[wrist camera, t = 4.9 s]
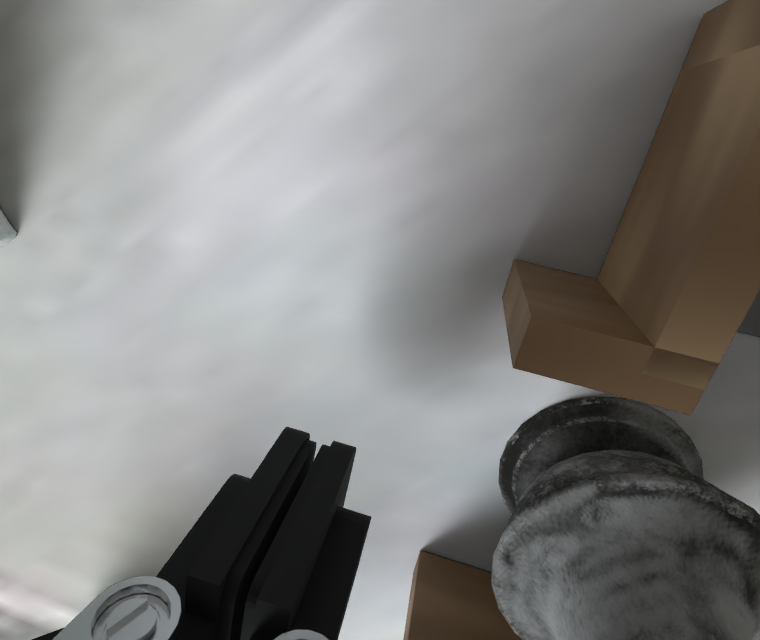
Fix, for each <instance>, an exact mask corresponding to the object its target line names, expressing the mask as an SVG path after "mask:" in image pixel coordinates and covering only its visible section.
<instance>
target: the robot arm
mask: <svg viewBox="0 0 760 640" xmlns="http://www.w3.org/2000/svg"><path fill="white" fill-rule="evenodd" d="M309 439H310V434H309V433H306V432H303V431H299V430H296V429H293V428H289V427H286V428H285V429H284V430H283V431H282V433H281V434H280V436H279V437H278V439H277V440H276V442H275V443H274V445H273V446H272V448H271V449H270V451H269V452H268V454H267V455H266V457H265V458H264V460H263V461H262V463H261V464H260V466H259V467H258V469H257V470H256V472H255V473H254V475H253V476H252V478H251V479H250V478H247V477H243V476H240V475H237V474H233V475H232V476H231V477H230V478H229V479H228V480H227V481H226V483H225V484H224V485H223V487H222V488H221V489H220V491H219V492H218V493H217V495H216V496H215V497H214V499H213V500H212V502H211V503H210V504H209V506H208V507H207V508H206V510H205V511H204V512H203V514H202V515H201V517H200V518H199V519H198V521H197V522H196V523H195V525H194V526H193V527H192V529H191V530H190V531H189V533H188V534H187V536H186V537H185V538H184V540H183V541H182V542H181V544H180V545H179V546H178V548H177V549H176V550H175V552H174V553H173V555H172V556H171V557H170V559H169V560H168V561H167V563H166V564H165V565H164V567H163V568H162V570H161V571H160V572H159V574H158V575H157V576H156V577H154V576H138V577H133V578H129V579H125V580H123V581H120V582H118V583H116V584H114V585H112V586H110V587H109V588H107V589H106V590H105V591H104V592H102V593H101V594H100V595H98V596H97V597H96V598H95V599H94V600H93V601H92V602H91V603H90V604H89V605H88V606H87V607H86V608H85V609H84V610H83V611H81V612H80V613H79V614H78V615H77V616H76V617H75V618H74V619H73V620H72V621H71V622H70V623H69V624H68V625H67V626H66V627H65V628H62V629H59V630H57V631H54V632H51V633H48V634H46V635H43V636H40V637H38V638H35V639H32V640H338V636H339V633H340V629H341V625H342V622H343V618H344V615H345V611H346V608H347V604H348V601H349V597H350V593H351V590H352V586H353V583H354V579H355V576H356V572H357V568H358V565H359V561H360V557H361V554H362V550H363V546H364V543H365V539H366V535H367V531H368V528H369V524H370V520H371V517H370V516H367V515H364V514H361V513H358V512H355V511H351V510H348V509H345V508H343V505H344V501H345V497H346V492H347V488H348V484H349V479H350V475H351V470H352V466H353V462H354V457H355V453H356V447H353V446H349V445H346V444H343V443H339V442H336V441H333V442H332V444H331V446H327V445H322V446H321V448H320V450H319V452H318V454H317V456H316V458H315V460H314V455H315V450H316V442H313V441H310V440H309ZM313 460H314V462H313Z"/></svg>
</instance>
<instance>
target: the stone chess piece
mask: <svg viewBox="0 0 760 640" xmlns="http://www.w3.org/2000/svg"><path fill="white" fill-rule="evenodd" d="M499 485H500V489H501V493H502V497H503V500H504V503H505V504H506V506H507V508H508V509H509V511H510V512H511V514H512V516H511V518H510V520H509V523H508V525H507V527H506V528H505V529H504V531H503V533H502V536H501V538H500V540H499V542H498V545H497V547H496V549H495V551H494V554H493V563H492V578H491V584H492V588H493V591H494V594H495V598H496V601H497V605H498V608H499V610H500V611H501V613H502V614H503V616H504V617H505V619H506V620H507V622H508V623H509V625H510V626H511V628H512V629H513V631H514V632H515V633H516V634H517V635H518V636H519V637H521V638H522V639H523V640H760V515H759V514H758V513H757V512H756V511H755V510H754V509H753V508H751V507H750V506H748V505H746V504H744V503H743V502H741V501H739V500H737V499H736V498H734V497H732V496H730V495H729V494H727V493H725V492H724V491H722V490H720V489H719V488H717V487H715V486H714V485H712V484H710V483H708V482H707V481H705V480H704V479H703V470H702V461H701V458H700V456H699V454H698V452H697V450H696V448H695V446H694V444H693V442H692V440H691V439H690V437H689V436H688V435H687V434H686V433H685V432H684V431H683V430H682V429H681V428H680V427H679V426H678V425H677V424H676V423H675V422H674V421H673V420H672V419H671V418H669V417H667V416H665V415H664V414H662V413H660V412H658V411H657V410H655V409H653V408H651V407H650V406H647V405H643V404H640V403H636V402H633V401H630V400H626V399H623V398H608V397H588V398H582V399H575V400H569V401H565V402H562V403H560V404H557V405H555V406H552V407H549V408H547V409H544V410H542V411H540V412H539V413H538V414H536V415H535V416H533V417H532V418H530V419H529V420H528V421H526V422H525V423H523V424H522V425H521V426H520V427H519V429H518V430H517V431H516V432H515V433H514V435H513V436H512V437H511V438H510V439H509V441H508V442H507V445H506V447H505V450H504V452H503V454H502V457H501V459H500V468H499Z"/></svg>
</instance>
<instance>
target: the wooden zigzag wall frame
mask: <svg viewBox="0 0 760 640" xmlns="http://www.w3.org/2000/svg"><path fill="white" fill-rule="evenodd" d="M502 299H503V306H504V313H505V319H506V326H507V332H508V339H509V346H510V352H511V359H512V365H513V368H515V369H519V370H523V371H527V372H530V373H534V374H538V375H542V376H545V377H549V378H553V379H557V380H560V381H564V382H568V383H572V384H575V385H579V386H583V387H587V388H590V389H594V390H598V391H602V392H605V393H609V394H613V395H617V396H620V397H624V398H628V399H632V400H635V401H639V402H643V403H647V404H651V405H654V406H658V407H662V408H666V409H669V410H673V411H677V412H681V413H684V414H688V415H691V413H692V412H693V410H694V408H695V406H696V404H697V403H698V401H699V399H700V397H701V395H702V393H703V392H704V390H705V388H706V386H707V384H708V383H709V381H710V379H711V377H712V375H713V373H714V372H715V370H716V368H717V366H718V364H719V363H720V361H721V359H722V357H723V355H724V353H725V352H726V350H727V348H728V346H729V344H730V343H731V341H732V339H733V337H734V335H735V333H736V332H740V333H744V334H749V335H753V336H757V337H760V0H728V1H726V2H725V3H723V4H721V5H719V6H717V7H716V8H714V9H712V10H710V11H708V12H707V13H705V14H703V17H702V19H701V22H700V24H699V27H698V29H697V32H696V34H695V37H694V39H693V42H692V44H691V47H690V49H689V52H688V54H687V57H686V59H685V62H684V64H683V67H682V69H681V72H680V74H679V77H678V79H677V82H676V84H675V87H674V89H673V92H672V94H671V96H670V99H669V101H668V104H667V106H666V109H665V111H664V114H663V116H662V119H661V121H660V124H659V126H658V129H657V131H656V134H655V136H654V139H653V141H652V144H651V146H650V149H649V151H648V154H647V156H646V159H645V161H644V164H643V166H642V169H641V171H640V174H639V176H638V179H637V181H636V184H635V186H634V189H633V191H632V194H631V196H630V199H629V201H628V204H627V206H626V209H625V211H624V214H623V216H622V219H621V221H620V224H619V226H618V229H617V231H616V234H615V236H614V239H613V241H612V244H611V246H610V249H609V251H608V254H607V256H606V259H605V261H604V263H603V266H602V268H601V271H600V273H599V276H598V278H597V279H594V278H590V277H585V276H581V275H577V274H573V273H569V272H565V271H561V270H557V269H552V268H548V267H544V266H540V265H536V264H532V263H528V262H523V261H519V260H515V259H514V262H513V265H512V268H511V271H510V274H509V277H508V280H507V283H506V287H505V290H504V293H503V296H502ZM491 578H492V573H490V572H487V571H484V570H481V569H477V568H474V567H471V566H468V565H465V564H461V563H458V562H455V561H452V560H449V559H446V558H442V557H439V556H436V555H433V554H430V553H426V552H423V551H420V554H419V557H418V560H417V563H416V566H415V569H414V572H413V579H412V586H411V593H410V599H409V606H408V613H407V619H406V626H405V633H404V639H403V640H523V639H522V638H521V637H519V636H518V635H517V634H516V633H515V632H514V631H513V629H512V628H511V626H510V625H509V623H508V622H507V620H506V619H505V617H504V616H503V614H502V613H501V611H500V610H499V608H498V605H497V601H496V598H495V594H494V591H493V588H492V584H491Z"/></svg>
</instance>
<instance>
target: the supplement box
mask: <svg viewBox="0 0 760 640" xmlns="http://www.w3.org/2000/svg"><path fill="white" fill-rule="evenodd" d="M16 234H17V232H16V231H15V230H14V229H13V227H12V226H11V225H10V223H9V222H8V220H7V219H6V217H5V216H4V214H3V212H2V211H1V209H0V247H2V246H3V245H5V244H6V243H8V242H9V241H10V240H12V239H13V238H15V237H16Z"/></svg>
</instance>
